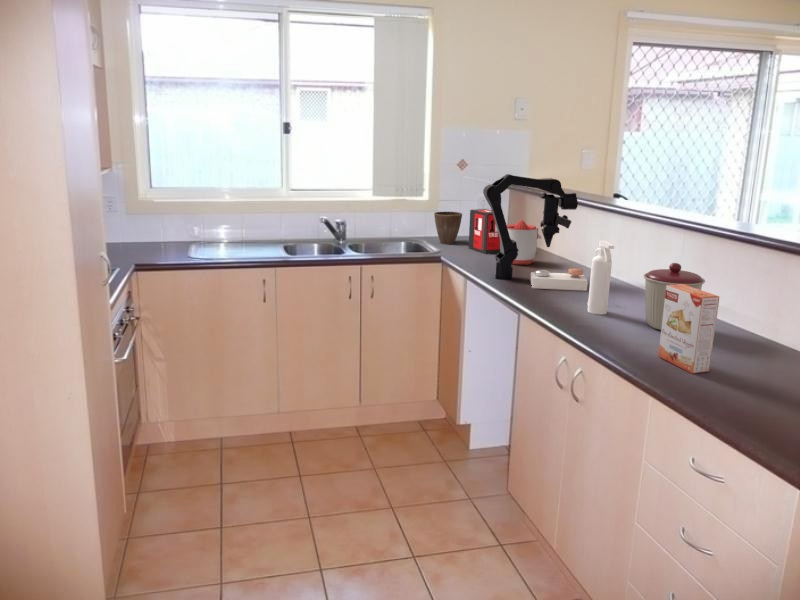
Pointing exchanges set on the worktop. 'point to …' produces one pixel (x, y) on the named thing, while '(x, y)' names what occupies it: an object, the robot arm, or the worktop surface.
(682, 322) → the cracker box
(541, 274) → the plug
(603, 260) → the white spray bottle
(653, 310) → the canister
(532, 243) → the citrus juicer
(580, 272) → the terracotta plug
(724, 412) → the worktop surface
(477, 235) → the cleaning product box
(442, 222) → the plant pot
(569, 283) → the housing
